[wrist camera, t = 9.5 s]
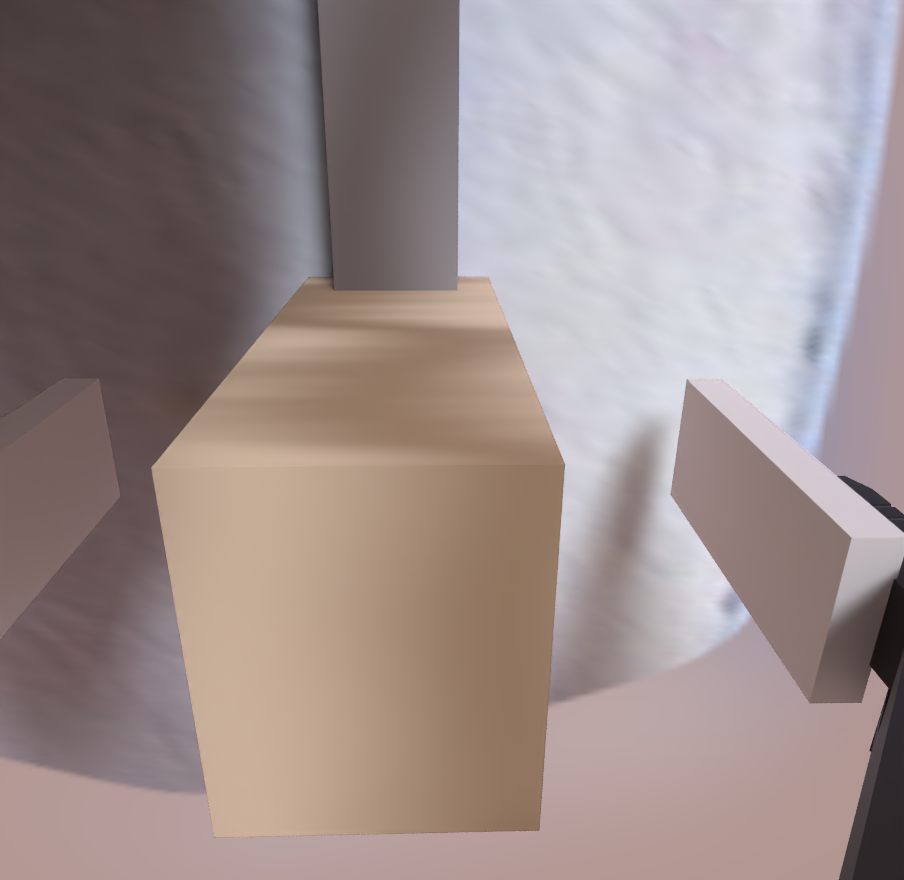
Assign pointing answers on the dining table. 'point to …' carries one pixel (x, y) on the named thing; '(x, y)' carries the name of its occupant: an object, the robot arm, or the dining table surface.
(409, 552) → the wooden toy block
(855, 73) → the dining table surface
